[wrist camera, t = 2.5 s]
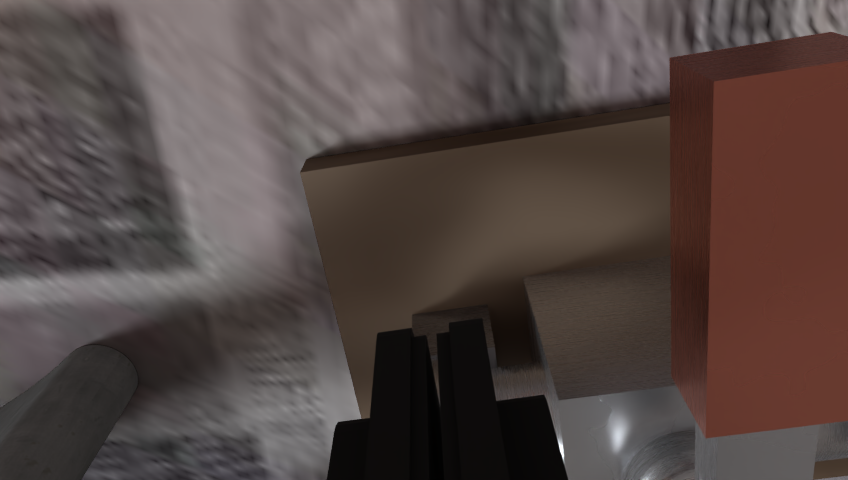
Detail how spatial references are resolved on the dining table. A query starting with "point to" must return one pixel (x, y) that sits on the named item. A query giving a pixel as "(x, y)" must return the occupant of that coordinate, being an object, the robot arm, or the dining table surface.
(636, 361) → the valve body
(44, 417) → the hip flask
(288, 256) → the dining table surface
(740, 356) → the lever
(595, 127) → the walnut board
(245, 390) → the dining table surface
